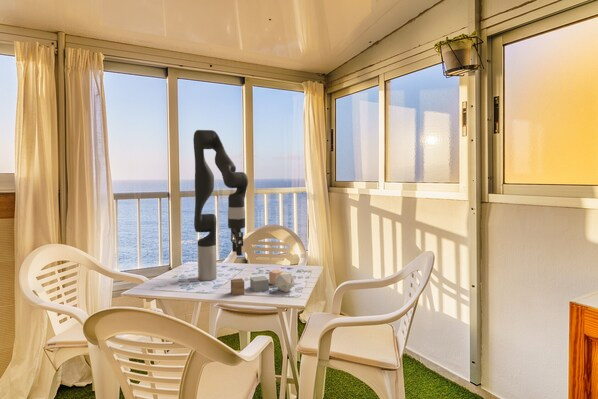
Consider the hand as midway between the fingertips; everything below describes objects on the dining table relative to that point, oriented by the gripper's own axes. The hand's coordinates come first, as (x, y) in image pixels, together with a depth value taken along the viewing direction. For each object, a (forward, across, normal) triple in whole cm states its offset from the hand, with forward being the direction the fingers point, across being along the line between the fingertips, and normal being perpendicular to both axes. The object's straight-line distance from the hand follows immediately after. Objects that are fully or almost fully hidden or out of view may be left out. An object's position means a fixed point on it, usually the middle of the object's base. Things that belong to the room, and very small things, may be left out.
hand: (236, 253), depth 164 cm
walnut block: (+18, 0, 0) cm, 18 cm away
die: (+18, +4, +21) cm, 28 cm away
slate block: (+18, -3, +11) cm, 22 cm away
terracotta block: (+18, -8, +21) cm, 29 cm away
